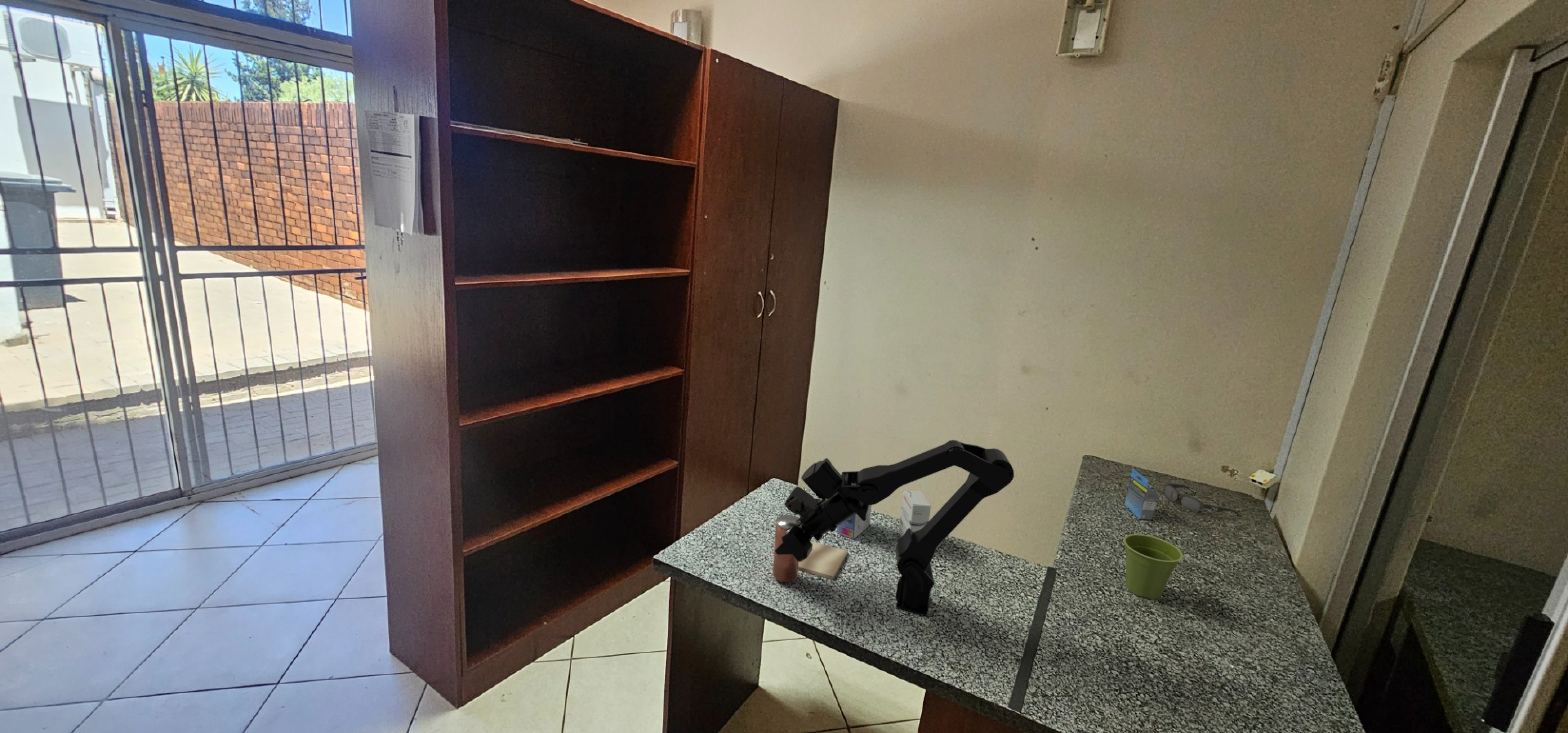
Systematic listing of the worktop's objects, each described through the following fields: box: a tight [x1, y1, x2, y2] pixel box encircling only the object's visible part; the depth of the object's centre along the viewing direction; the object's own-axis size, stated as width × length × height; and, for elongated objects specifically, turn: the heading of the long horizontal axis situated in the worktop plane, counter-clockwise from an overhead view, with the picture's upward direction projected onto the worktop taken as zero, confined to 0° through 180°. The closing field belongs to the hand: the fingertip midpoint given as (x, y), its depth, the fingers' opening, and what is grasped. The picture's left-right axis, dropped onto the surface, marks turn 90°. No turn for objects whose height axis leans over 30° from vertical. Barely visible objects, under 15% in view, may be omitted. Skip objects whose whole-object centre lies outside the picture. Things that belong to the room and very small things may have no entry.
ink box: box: [897, 490, 932, 538], centre depth 155 cm, size 9×5×12 cm, turn 6°
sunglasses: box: [1163, 482, 1239, 515], centre depth 190 cm, size 16×17×5 cm
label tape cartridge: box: [1124, 467, 1159, 521], centre depth 179 cm, size 9×4×12 cm, turn 179°
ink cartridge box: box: [836, 483, 872, 540], centre depth 157 cm, size 10×6×14 cm, turn 148°
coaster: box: [798, 540, 849, 580], centre depth 144 cm, size 12×12×1 cm
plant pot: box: [1122, 533, 1184, 600], centre depth 140 cm, size 12×12×11 cm
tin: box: [772, 514, 802, 583], centre depth 134 cm, size 6×6×13 cm
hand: (781, 545), depth 134 cm, fingers closed on tin, 6 cm apart
